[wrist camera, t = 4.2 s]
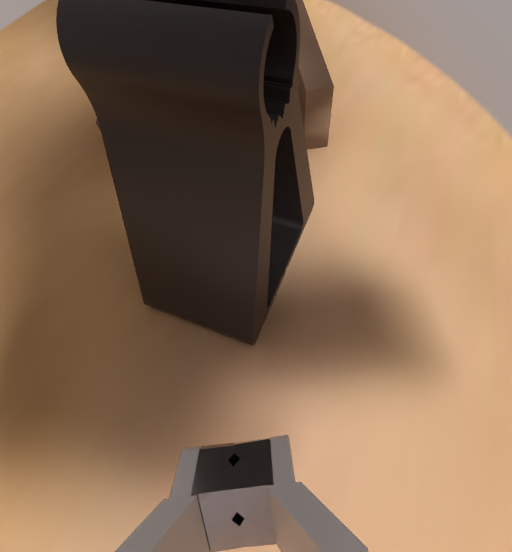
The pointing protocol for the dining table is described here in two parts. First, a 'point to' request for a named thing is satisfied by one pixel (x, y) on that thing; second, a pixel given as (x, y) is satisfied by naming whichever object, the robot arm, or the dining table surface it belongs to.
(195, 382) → the dining table surface
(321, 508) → the robot arm
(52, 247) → the dining table surface
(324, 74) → the frame
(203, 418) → the dining table surface
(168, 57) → the phone stand
